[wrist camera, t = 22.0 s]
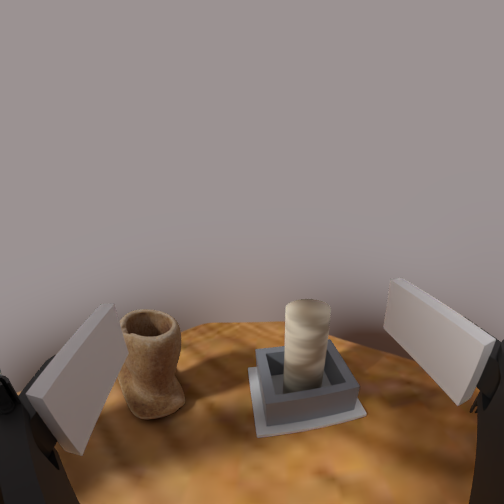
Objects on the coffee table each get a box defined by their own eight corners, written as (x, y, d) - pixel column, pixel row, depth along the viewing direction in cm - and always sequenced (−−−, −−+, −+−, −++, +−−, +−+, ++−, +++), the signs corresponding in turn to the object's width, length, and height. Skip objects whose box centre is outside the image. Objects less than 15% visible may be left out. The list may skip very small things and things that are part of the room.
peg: (287, 406, 35) (292, 321, 32) (279, 382, 41) (280, 301, 38) (325, 399, 36) (338, 315, 32) (313, 376, 42) (321, 297, 38)
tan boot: (206, 407, 37) (189, 327, 33) (136, 430, 31) (100, 351, 27) (173, 360, 49) (159, 291, 46) (118, 376, 43) (95, 305, 39)
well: (257, 437, 31) (254, 413, 29) (247, 370, 46) (245, 345, 45) (365, 416, 32) (373, 390, 30) (332, 358, 47) (335, 333, 46)
